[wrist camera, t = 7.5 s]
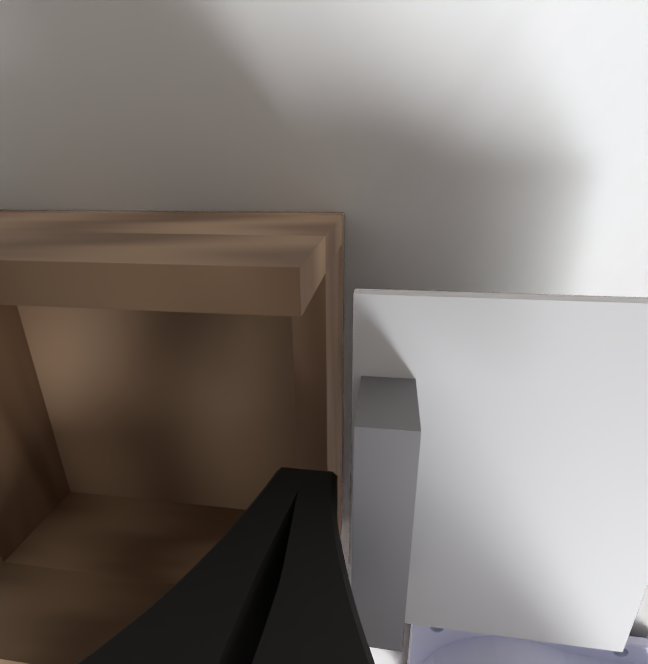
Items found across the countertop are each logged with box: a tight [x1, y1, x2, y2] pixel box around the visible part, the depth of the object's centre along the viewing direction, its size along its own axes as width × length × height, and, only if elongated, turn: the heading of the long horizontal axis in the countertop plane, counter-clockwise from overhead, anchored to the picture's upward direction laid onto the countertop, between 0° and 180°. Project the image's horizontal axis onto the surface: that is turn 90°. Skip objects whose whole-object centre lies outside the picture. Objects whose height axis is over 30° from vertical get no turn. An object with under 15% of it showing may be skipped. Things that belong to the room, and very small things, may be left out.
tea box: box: [0, 210, 344, 664], centre depth 13 cm, size 12×12×7 cm
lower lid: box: [349, 289, 648, 652], centre depth 10 cm, size 7×10×2 cm
